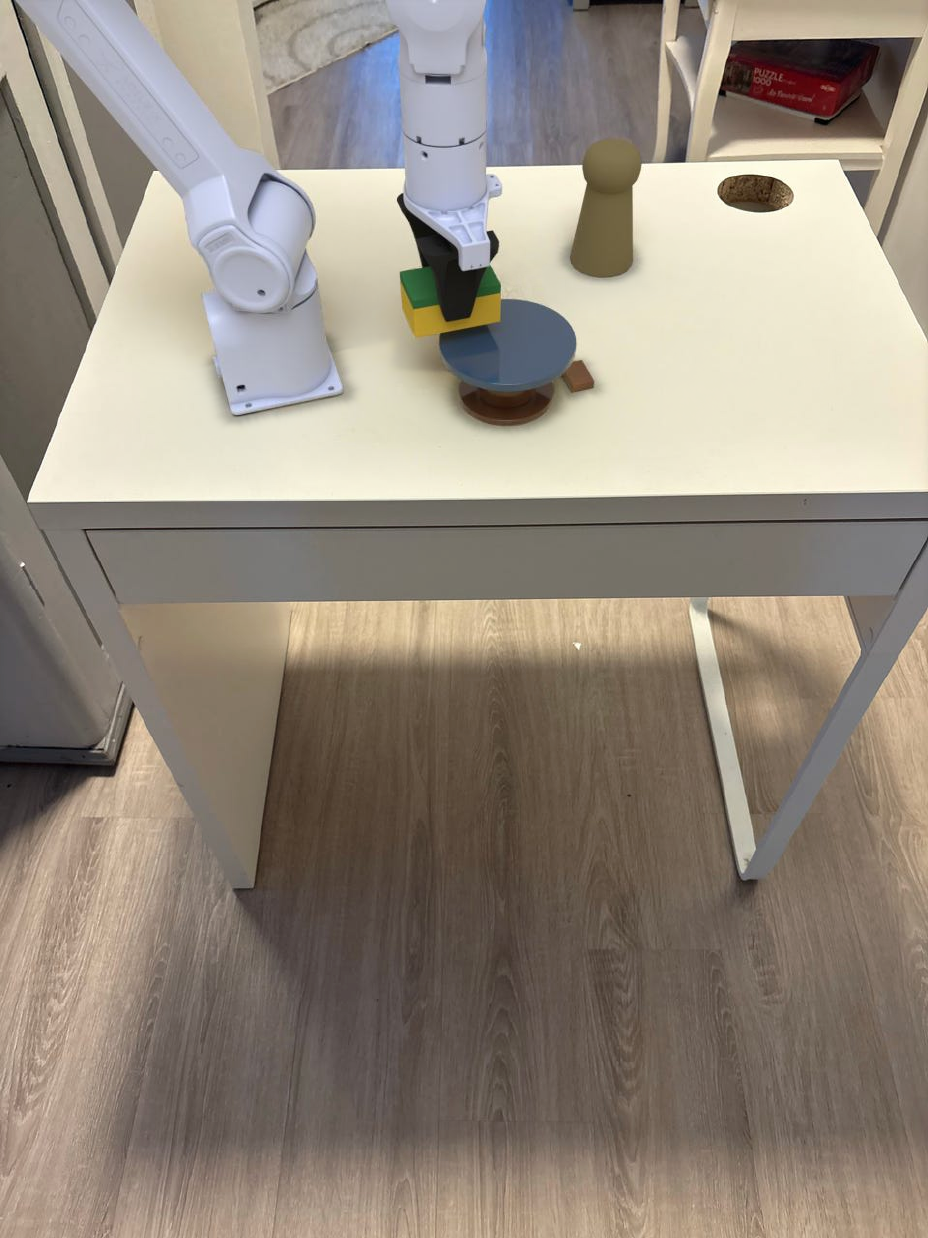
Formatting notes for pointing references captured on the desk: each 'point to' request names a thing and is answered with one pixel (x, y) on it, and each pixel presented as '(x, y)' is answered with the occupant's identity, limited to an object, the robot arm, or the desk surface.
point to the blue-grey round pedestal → (510, 362)
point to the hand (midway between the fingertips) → (448, 300)
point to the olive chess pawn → (607, 209)
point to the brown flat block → (578, 377)
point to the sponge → (426, 310)
